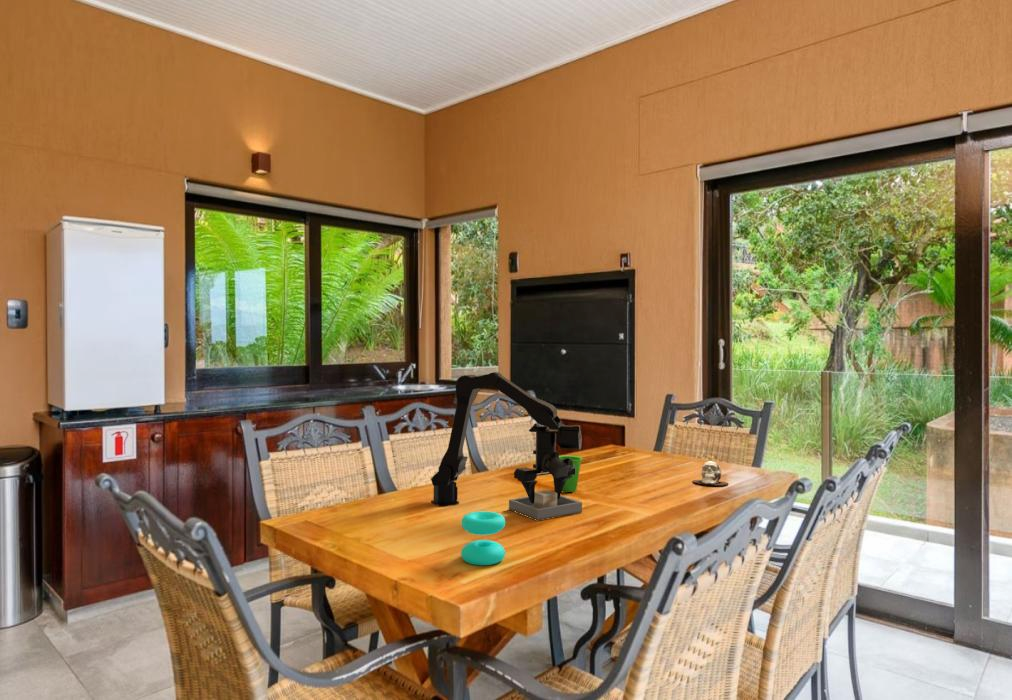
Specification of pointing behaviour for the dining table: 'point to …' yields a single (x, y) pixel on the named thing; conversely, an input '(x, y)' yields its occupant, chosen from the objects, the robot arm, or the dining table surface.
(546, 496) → the block
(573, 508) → the tray
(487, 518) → the donuts
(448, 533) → the dining table surface
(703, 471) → the skull
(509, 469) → the dining table surface
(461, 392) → the robot arm
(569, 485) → the cup
